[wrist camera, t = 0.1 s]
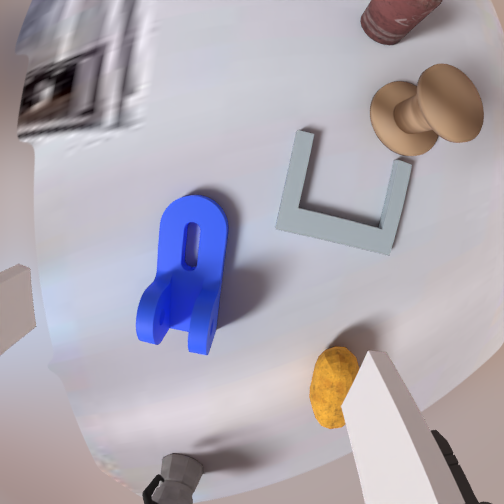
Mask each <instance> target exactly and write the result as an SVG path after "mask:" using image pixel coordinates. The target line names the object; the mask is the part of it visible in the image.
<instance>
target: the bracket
mask: <svg viewBox="0 0 504 504" xmlns="http://www.w3.org/2000/svg"><path fill="white" fill-rule="evenodd" d="M190 222H195V223H197V224H198V225H199V227H200V230H201V232H200V241H199V250H198V260H197V266H196V267H191V266H189V265H187V264H186V262H185V251H186V240H187V230H188V224H189V223H190ZM227 238H228V220H227V217H226V215H225V212H224V211H223V209H222V208H221V207H220V205H219V204H218V203H216V202H215V201H214V200H212V199H210V198H208V197H206V196H202V195H189V196H185V197H182V198H179V199H177V200H175V201H174V202H172V203H171V204H170V205H169V206H168V207H167V208H166V210H165V211H164V213H163V215H162V218H161V222H160V231H159V244H158V260H157V273H156V277H155V280H154V281H153V283H152V284H151V285H150V286H149V287H148V288H147V289H146V290H145V291H144V293H143V295H142V297H141V300H140V303H139V306H138V310H137V317H136V332H137V336H138V339H139V340H140V341H144V342H148V343H152V344H156V345H158V344H160V343H161V341H162V340H163V338H164V336H165V335H166V333H167V331H168V330H169V328H172V329H177V330H182V331H187V332H189V334H188V349H189V352H193V353H198V354H203V355H208V353H209V351H210V348H211V344H212V341H213V338H214V335H215V332H216V327H217V318H218V310H219V301H220V293H221V285H222V277H223V269H224V261H225V253H226V246H227Z"/></svg>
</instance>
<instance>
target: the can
mask: <svg viewBox="0 0 504 504" xmlns="http://www.w3.org/2000/svg"><path fill="white" fill-rule="evenodd" d="M441 2H442V0H371V2H370V3H369V5H368V7H367V8H366V10H365V11H364V13H363V14H362V16H361V26H362V28H363V30H364V31H365V33H366V34H367V35H368V36H369V37H370V38H371V39H373V40H374V41H376V42H378V43H381V44H385V45H393V44H396V43H397V42H399V41H400V40H401V39H402V38H403V37H404V36H405V35H406V34H407V33H409V32H410V31H411V30H412V29H413V28H414V27H415V26H416V25H417V24H418V23H419V22H421V21H422V20H423V19H424V18H425V17H426V16H427V15H428V14H429V13H431V12H432V11H433V10H434V9H435V8H436V7H437V6H439V5H440V4H441Z"/></svg>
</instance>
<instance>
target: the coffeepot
mask: <svg viewBox="0 0 504 504" xmlns="http://www.w3.org/2000/svg"><path fill="white" fill-rule="evenodd" d="M202 474H203V467H202V465H201V464H200V463H199V462H198V461H196V460H195V459H193V458H191V457H188V456H185V455H180V454H170V455H167V456H166V457H164V458H163V459H162V468H161V475H159V474H158V475H156V477H155V478H154V479H153V480H152V482H151V483H150V484H149V485H148V487H147V488H146V489H145V490H144V491H143V495H142V496H143V500H144V504H193V499H192V494H193V493H194V491H195V489H196V487H197V485H198V483H199V481H200V478H201V476H202ZM159 481H160V482H161V485H160V487H159V488H157V489H156V491H155V493H154V494H153V492H154V490H155V488H156V487H157V486H158V485H159ZM152 494H153V496H152Z"/></svg>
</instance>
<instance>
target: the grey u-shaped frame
mask: <svg viewBox="0 0 504 504" xmlns="http://www.w3.org/2000/svg"><path fill="white" fill-rule="evenodd" d="M313 138H314V134H312V133H308V132H304V131H300V130H297V132H296V136H295V141H294V145H293V150H292V155H291V159H290V164H289V168H288V173H287V178H286V182H285V187H284V191H283V196H282V200H281V205H280V209H279V213H278V218H277V222H276V227H275V228H276V230H281V231H285V232H290V233H294V234H299V235H303V236H308V237H312V238H317V239H321V240H325V241H330V242H334V243H338V244H342V245H347V246H351V247H355V248H359V249H363V250H367V251H372V252H376V253H380V254H384V255H388V256H390V252H391V249H392V245H393V242H394V238H395V235H396V231H397V227H398V224H399V220H400V216H401V212H402V208H403V204H404V200H405V195H406V191H407V186H408V182H409V177H410V172H411V167H412V165H411V164H408V163H406V162H403V161H400V160H394V162H393V167H392V172H391V177H390V182H389V186H388V191H387V195H386V199H385V203H384V207H383V211H382V215H381V219H380V223H379V227H375V226H371V225H367V224H364V223H360V222H356V221H352V220H348V219H344V218H340V217H336V216H332V215H328V214H324V213H320V212H316V211H312V210H308V209H303V208H299V202H300V198H301V193H302V189H303V185H304V180H305V176H306V171H307V167H308V162H309V157H310V153H311V148H312V143H313Z"/></svg>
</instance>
